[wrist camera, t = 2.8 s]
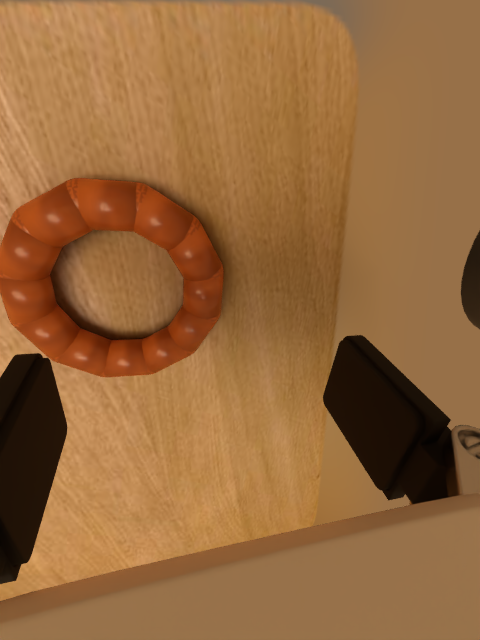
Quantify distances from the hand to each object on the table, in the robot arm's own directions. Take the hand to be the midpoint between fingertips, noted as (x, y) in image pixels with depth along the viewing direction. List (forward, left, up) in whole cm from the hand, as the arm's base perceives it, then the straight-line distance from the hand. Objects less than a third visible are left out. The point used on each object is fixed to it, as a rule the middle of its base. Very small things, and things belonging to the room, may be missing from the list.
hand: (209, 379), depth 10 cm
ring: (+3, 0, -7) cm, 8 cm away
